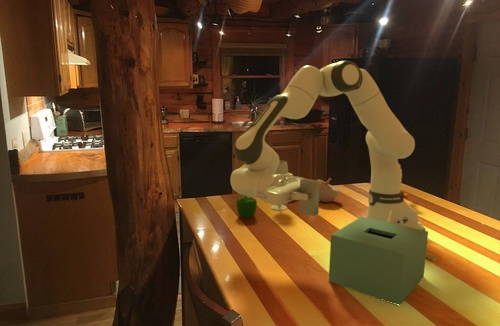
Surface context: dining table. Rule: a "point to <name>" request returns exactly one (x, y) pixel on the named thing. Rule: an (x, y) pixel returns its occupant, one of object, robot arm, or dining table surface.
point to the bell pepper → (246, 206)
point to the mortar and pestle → (327, 191)
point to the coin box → (378, 258)
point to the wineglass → (281, 170)
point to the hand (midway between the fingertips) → (312, 195)
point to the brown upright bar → (313, 189)
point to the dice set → (431, 256)
